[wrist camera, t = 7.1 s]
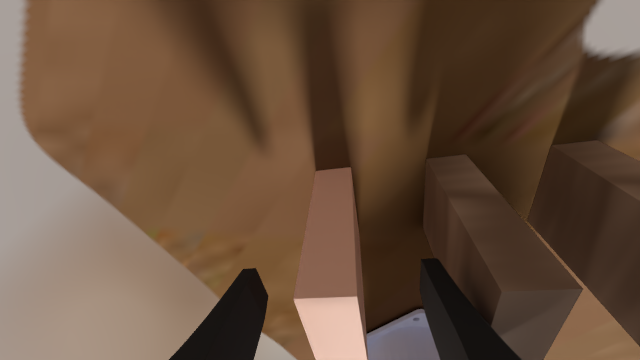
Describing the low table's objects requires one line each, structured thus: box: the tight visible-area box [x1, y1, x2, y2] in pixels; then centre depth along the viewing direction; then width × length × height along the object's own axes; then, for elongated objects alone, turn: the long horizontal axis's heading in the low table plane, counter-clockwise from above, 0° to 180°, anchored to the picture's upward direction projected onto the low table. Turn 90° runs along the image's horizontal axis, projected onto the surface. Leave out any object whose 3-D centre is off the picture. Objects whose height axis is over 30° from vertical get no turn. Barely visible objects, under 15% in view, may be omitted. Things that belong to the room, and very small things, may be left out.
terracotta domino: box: [294, 167, 368, 360], centre depth 13 cm, size 2×5×8 cm, turn 10°
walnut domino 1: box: [423, 154, 583, 360], centre depth 12 cm, size 2×5×8 cm, turn 10°
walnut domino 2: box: [527, 140, 640, 346], centre depth 11 cm, size 2×5×8 cm, turn 10°
